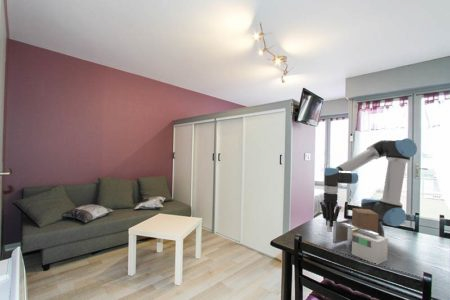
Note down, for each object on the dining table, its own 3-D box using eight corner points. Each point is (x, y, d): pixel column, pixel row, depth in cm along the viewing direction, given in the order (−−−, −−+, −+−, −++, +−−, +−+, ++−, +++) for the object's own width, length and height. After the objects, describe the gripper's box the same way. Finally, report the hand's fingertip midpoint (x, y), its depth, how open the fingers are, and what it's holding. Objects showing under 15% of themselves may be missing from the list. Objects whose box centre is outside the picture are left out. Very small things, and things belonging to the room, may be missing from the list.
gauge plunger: (344, 239, 125) (345, 219, 125) (382, 253, 108) (383, 230, 108) (332, 243, 118) (332, 221, 119) (369, 259, 102) (370, 234, 102)
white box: (361, 250, 116) (362, 230, 116) (387, 260, 105) (387, 238, 105) (351, 253, 110) (351, 233, 110) (376, 265, 100) (377, 242, 100)
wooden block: (377, 250, 116) (378, 214, 116) (357, 247, 118) (359, 212, 118) (369, 242, 126) (370, 209, 126) (350, 240, 128) (352, 208, 128)
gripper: (317, 191, 131) (315, 228, 131) (337, 195, 120) (335, 236, 120) (324, 190, 135) (323, 227, 135) (344, 194, 124) (343, 234, 123)
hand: (329, 231), depth 127 cm, fingers closed
